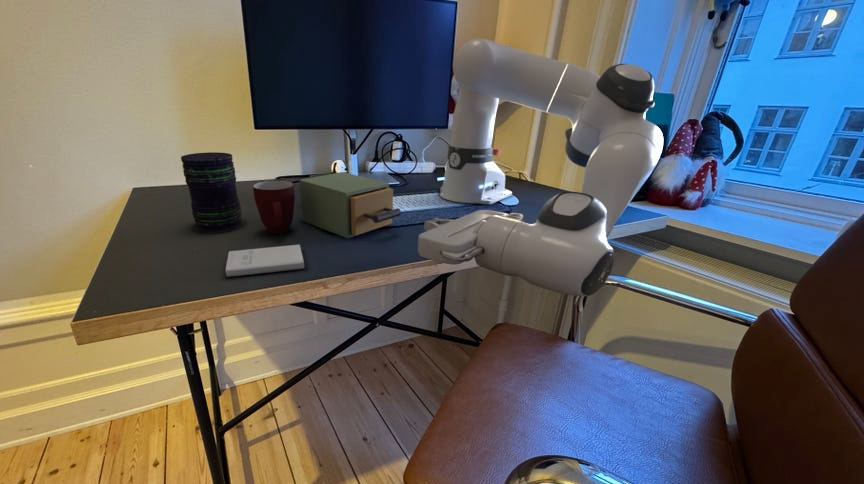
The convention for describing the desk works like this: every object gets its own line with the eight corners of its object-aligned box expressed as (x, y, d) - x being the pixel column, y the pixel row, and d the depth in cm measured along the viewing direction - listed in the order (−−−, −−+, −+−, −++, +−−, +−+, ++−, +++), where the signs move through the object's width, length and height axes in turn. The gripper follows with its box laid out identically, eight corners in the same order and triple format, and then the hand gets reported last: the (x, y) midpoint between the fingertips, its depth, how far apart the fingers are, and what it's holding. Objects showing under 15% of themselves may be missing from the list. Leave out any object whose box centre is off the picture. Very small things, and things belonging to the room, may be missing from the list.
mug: (305, 238, 76) (301, 190, 71) (265, 244, 72) (258, 194, 68) (292, 223, 84) (288, 179, 80) (256, 227, 81) (249, 182, 76)
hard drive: (304, 270, 63) (226, 278, 59) (300, 251, 70) (230, 257, 66) (303, 261, 62) (224, 269, 59) (299, 243, 69) (228, 249, 66)
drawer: (407, 227, 80) (408, 192, 76) (370, 241, 72) (370, 203, 69) (349, 209, 91) (348, 177, 88) (311, 219, 84) (309, 185, 80)
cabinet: (388, 224, 84) (389, 182, 80) (347, 238, 76) (346, 192, 72) (343, 209, 94) (341, 171, 90) (302, 220, 85) (299, 179, 81)
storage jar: (185, 227, 80) (169, 157, 73) (222, 215, 88) (210, 150, 81) (217, 236, 76) (202, 162, 69) (252, 222, 84) (243, 155, 77)
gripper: (460, 282, 54) (391, 255, 63) (520, 244, 68) (456, 226, 76) (465, 242, 52) (392, 219, 60) (526, 212, 65) (460, 197, 73)
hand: (428, 223), depth 68 cm, fingers closed
